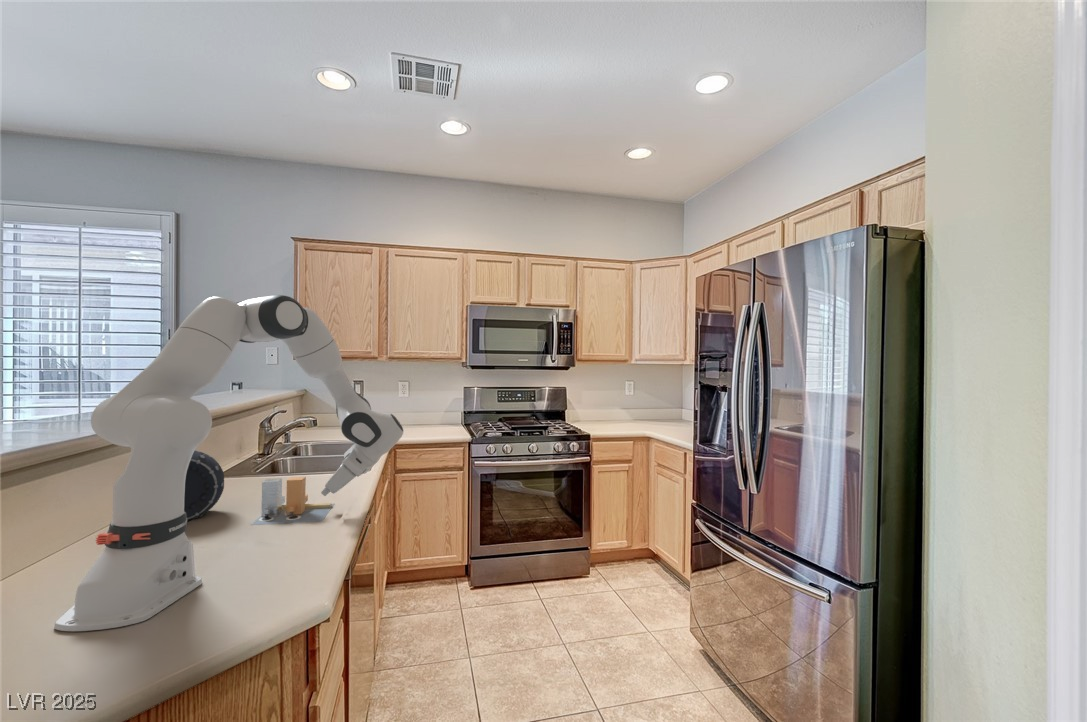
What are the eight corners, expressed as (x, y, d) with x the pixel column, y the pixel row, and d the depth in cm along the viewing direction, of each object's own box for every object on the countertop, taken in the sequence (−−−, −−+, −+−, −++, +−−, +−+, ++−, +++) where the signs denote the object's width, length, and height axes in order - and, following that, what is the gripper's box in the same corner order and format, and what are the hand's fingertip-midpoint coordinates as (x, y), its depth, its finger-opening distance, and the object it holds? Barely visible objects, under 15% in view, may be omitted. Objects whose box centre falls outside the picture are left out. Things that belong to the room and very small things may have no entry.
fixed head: (273, 519, 134) (274, 484, 134) (257, 520, 133) (258, 484, 133) (286, 507, 145) (287, 474, 145) (272, 507, 144) (272, 475, 144)
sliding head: (298, 517, 135) (299, 482, 135) (283, 518, 134) (283, 482, 134) (309, 505, 146) (310, 472, 146) (295, 505, 145) (295, 473, 145)
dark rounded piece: (221, 521, 135) (223, 451, 135) (130, 532, 125) (132, 456, 125) (225, 510, 144) (226, 445, 144) (140, 520, 134) (142, 450, 135)
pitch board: (321, 525, 133) (321, 517, 133) (250, 529, 129) (250, 521, 129) (334, 507, 149) (335, 500, 149) (272, 510, 146) (272, 503, 146)
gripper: (357, 446, 153) (324, 477, 151) (344, 459, 133) (306, 495, 131) (371, 459, 154) (339, 490, 152) (361, 474, 134) (323, 510, 132)
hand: (323, 493), depth 141 cm, fingers closed
